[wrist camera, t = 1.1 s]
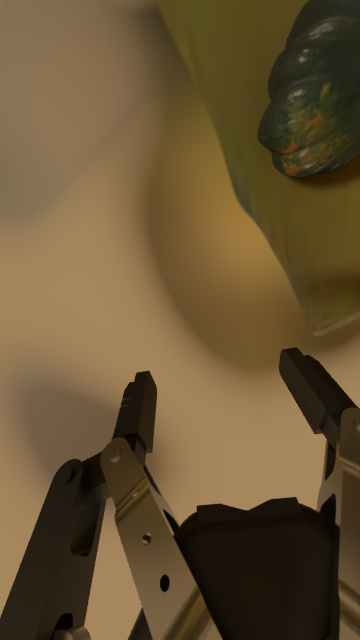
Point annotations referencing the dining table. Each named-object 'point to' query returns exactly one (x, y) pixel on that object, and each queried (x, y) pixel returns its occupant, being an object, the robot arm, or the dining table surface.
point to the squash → (316, 92)
